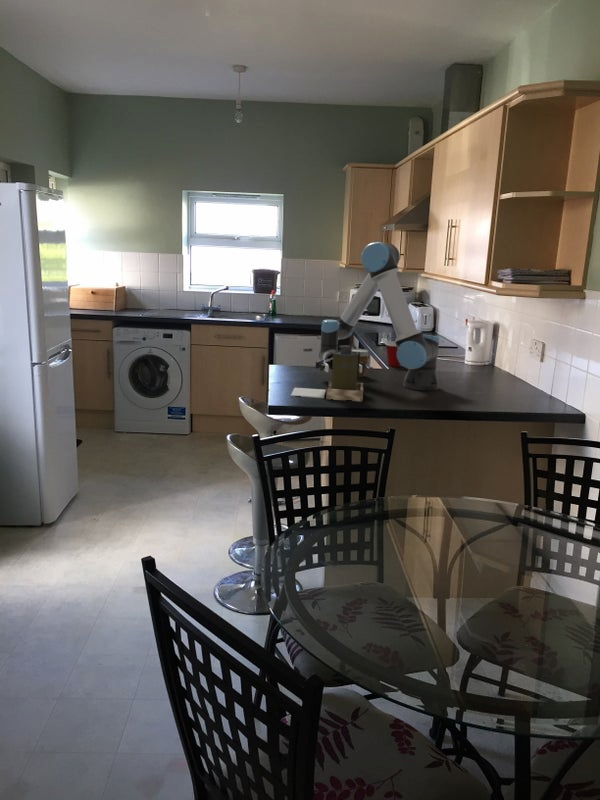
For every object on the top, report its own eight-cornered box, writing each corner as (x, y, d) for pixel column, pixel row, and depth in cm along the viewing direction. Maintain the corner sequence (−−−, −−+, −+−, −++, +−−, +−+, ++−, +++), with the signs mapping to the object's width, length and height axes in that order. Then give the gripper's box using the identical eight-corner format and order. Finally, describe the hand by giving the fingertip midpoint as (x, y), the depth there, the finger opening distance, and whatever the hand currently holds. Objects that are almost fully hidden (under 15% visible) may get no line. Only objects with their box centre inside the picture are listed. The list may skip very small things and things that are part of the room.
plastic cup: (378, 365, 334) (380, 341, 331) (390, 363, 342) (392, 340, 339) (397, 368, 327) (399, 344, 324) (408, 366, 335) (410, 343, 332)
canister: (335, 398, 254) (338, 347, 250) (326, 393, 264) (329, 344, 260) (361, 398, 258) (364, 347, 253) (351, 392, 267) (354, 344, 263)
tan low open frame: (362, 392, 268) (363, 383, 267) (362, 401, 253) (363, 391, 252) (328, 390, 269) (328, 381, 268) (326, 399, 254) (326, 389, 253)
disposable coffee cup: (366, 378, 298) (368, 352, 295) (345, 376, 299) (347, 351, 296) (367, 374, 307) (369, 349, 304) (347, 373, 308) (349, 348, 306)
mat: (325, 390, 268) (325, 389, 268) (323, 398, 255) (323, 397, 255) (294, 388, 269) (294, 387, 269) (290, 396, 256) (290, 394, 256)
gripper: (360, 368, 281) (374, 378, 261) (303, 367, 277) (312, 378, 256) (362, 351, 279) (375, 360, 259) (304, 350, 275) (313, 359, 255)
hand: (344, 369), depth 258 cm, fingers open, 13 cm apart
